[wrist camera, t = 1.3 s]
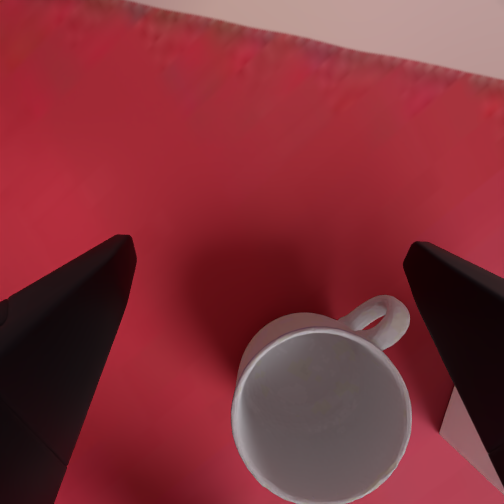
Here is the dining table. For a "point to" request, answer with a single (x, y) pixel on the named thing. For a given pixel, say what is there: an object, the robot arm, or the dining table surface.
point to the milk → (467, 439)
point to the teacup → (323, 404)
